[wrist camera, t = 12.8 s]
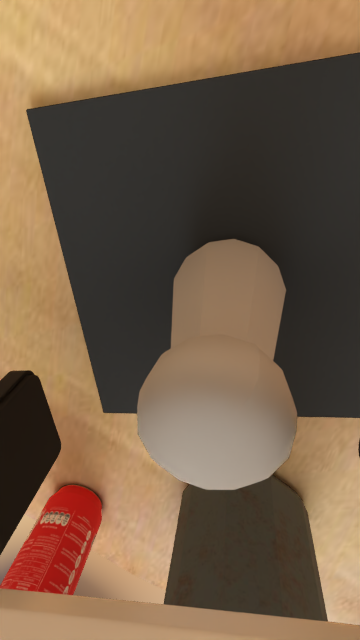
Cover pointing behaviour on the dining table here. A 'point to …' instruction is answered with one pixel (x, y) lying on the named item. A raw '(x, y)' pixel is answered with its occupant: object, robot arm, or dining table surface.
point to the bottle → (246, 553)
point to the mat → (213, 215)
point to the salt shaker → (221, 373)
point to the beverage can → (57, 543)
